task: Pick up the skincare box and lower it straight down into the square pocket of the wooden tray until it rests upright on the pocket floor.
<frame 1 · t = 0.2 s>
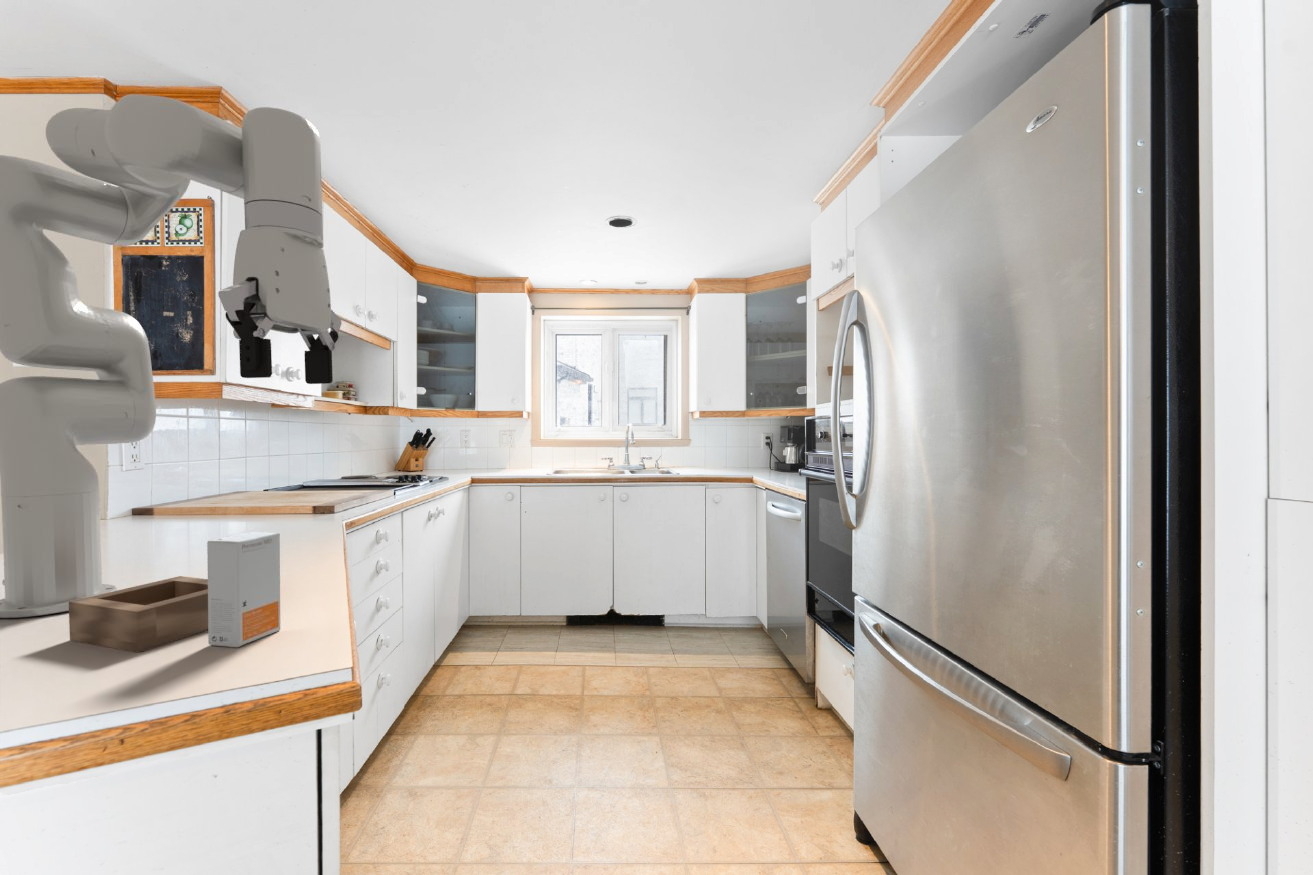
hand: (289, 380, 68), 30 cm above the counter, tool pointing down, fingers open, 9 cm apart
wooden tray: (161, 628, 73), on the counter
skincare box: (246, 639, 70), on the counter
onion: (240, 600, 85), on the counter
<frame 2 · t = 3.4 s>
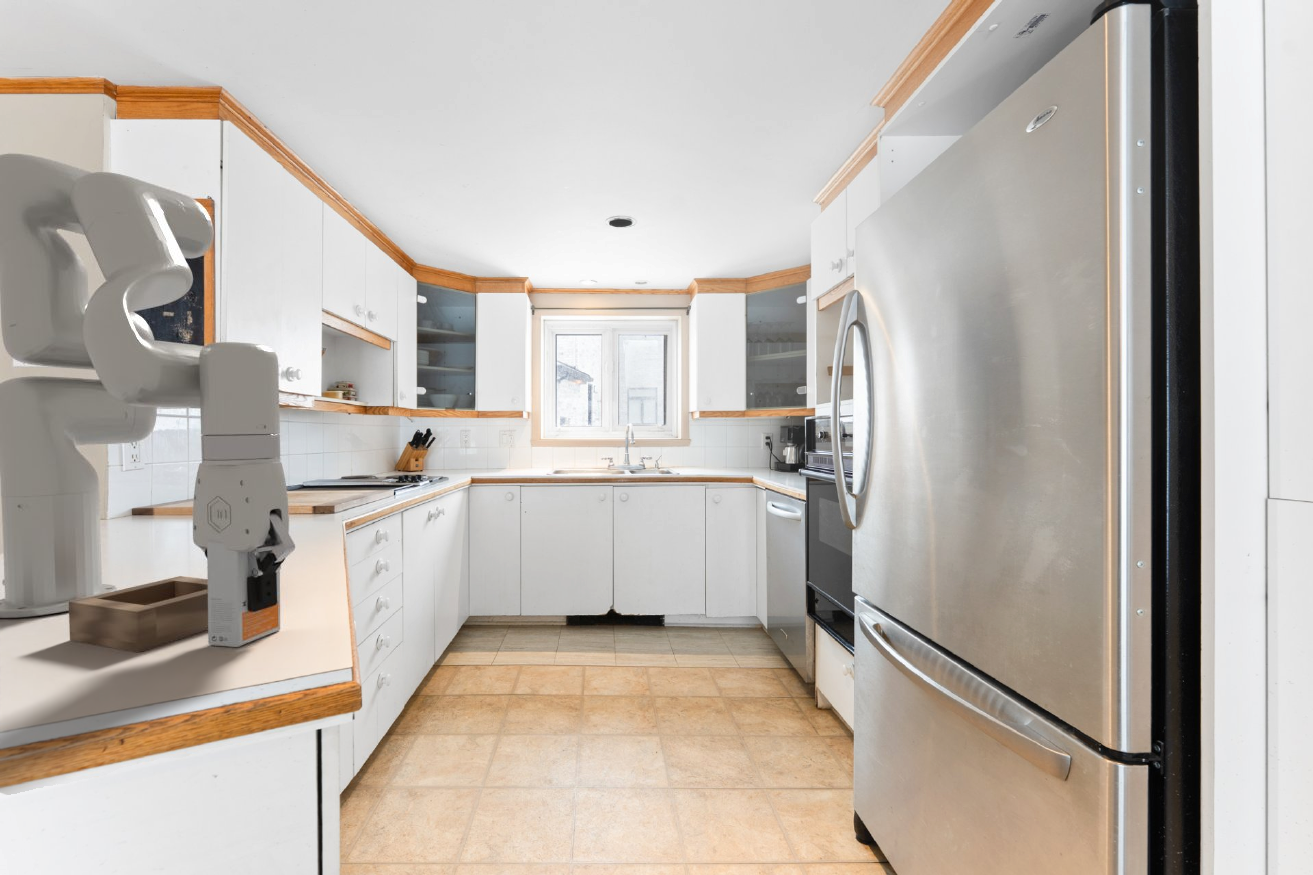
hand: (245, 604, 70), 4 cm above the counter, tool pointing down, fingers closed on skincare box, 4 cm apart
skincare box: (246, 639, 70), on the counter, touching gripper
everything else where it was.
when the fingers open (6 cm above the counter, at t = 8.8 s): skincare box drops 1 cm, resting on wooden tray.
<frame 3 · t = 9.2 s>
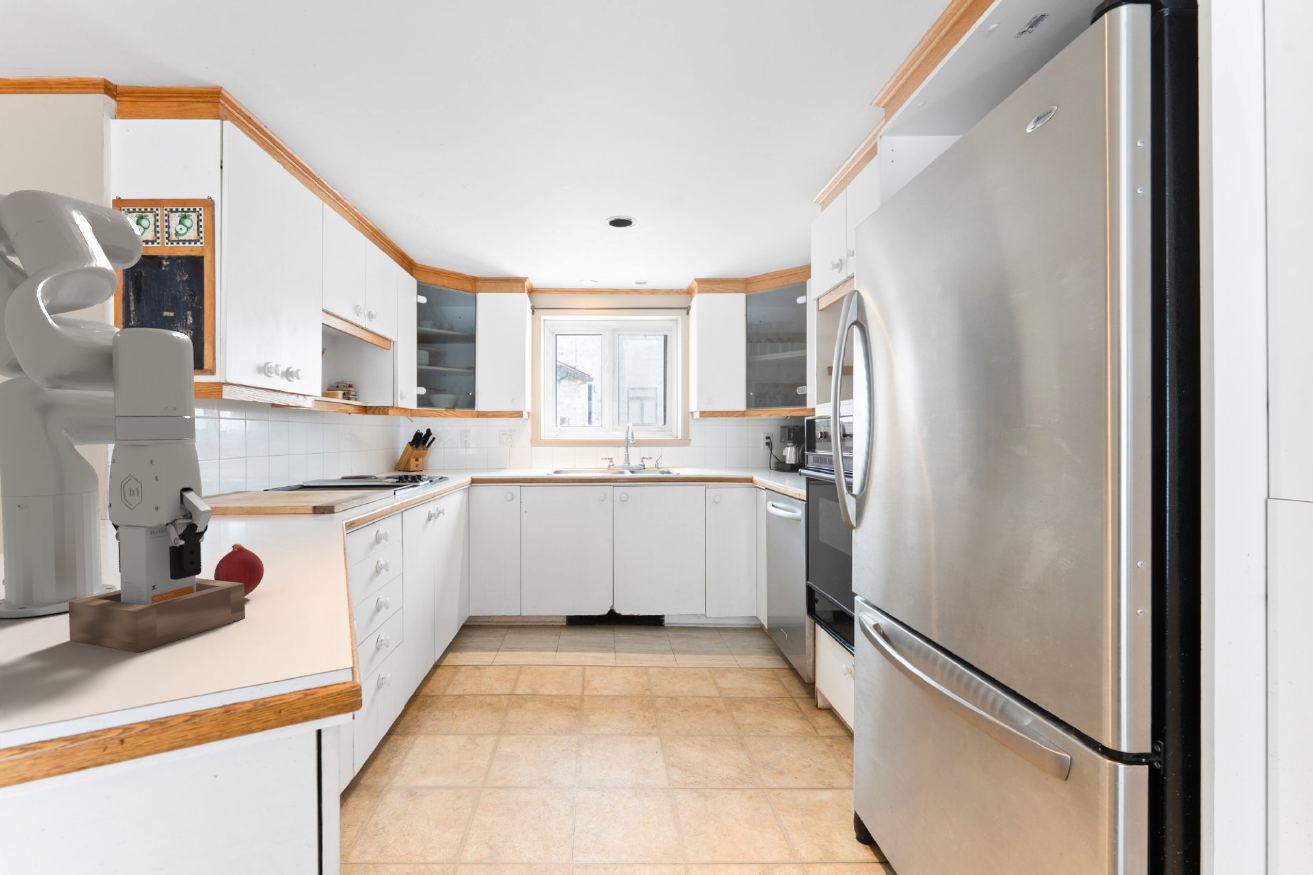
hand: (160, 573, 73), 7 cm above the counter, tool pointing down, fingers open, 8 cm apart
skincare box: (161, 621, 73), point 1 cm above the counter, touching wooden tray
everything else where it was.
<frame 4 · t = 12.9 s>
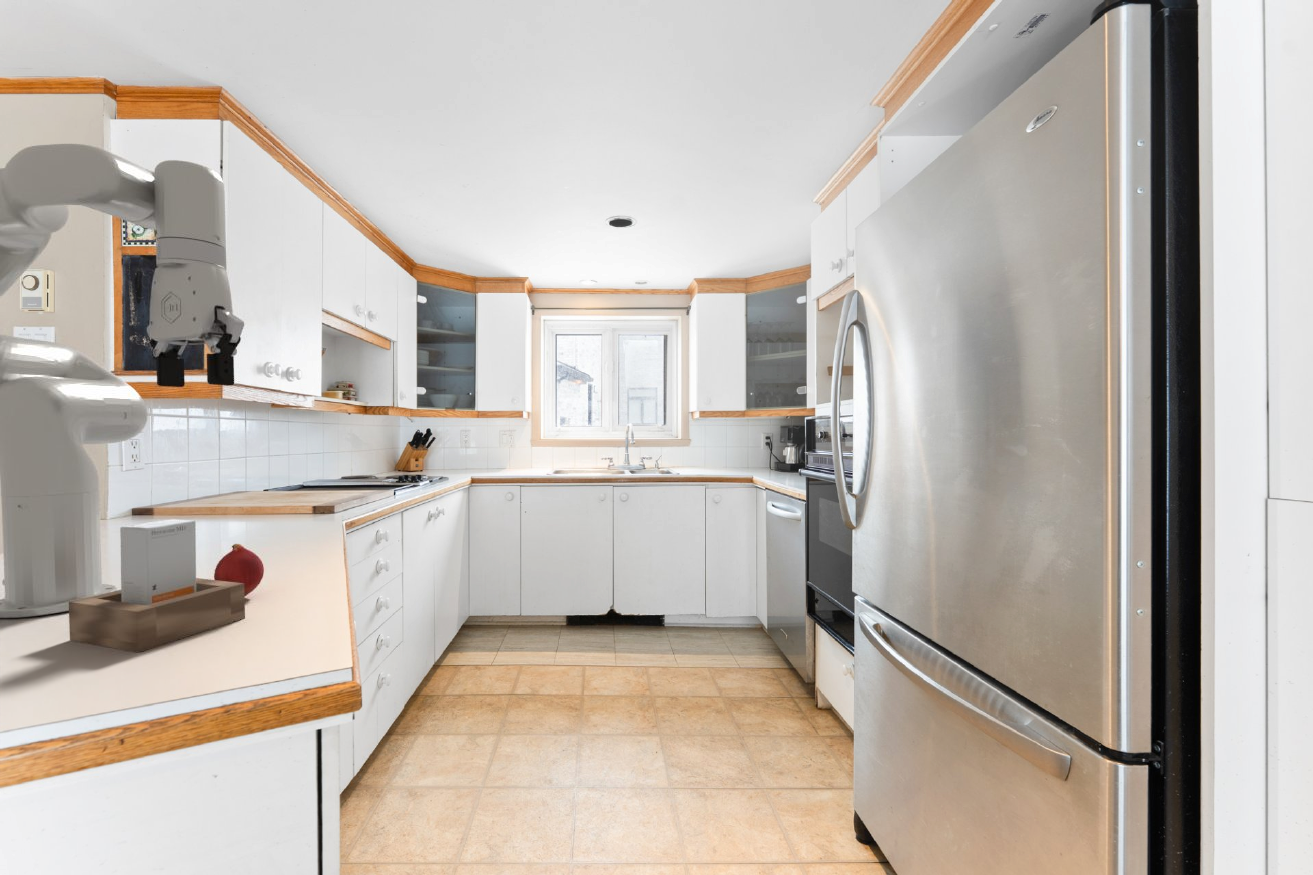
hand: (195, 385, 81), 30 cm above the counter, tool pointing down, fingers open, 9 cm apart
nothing on the counter moved.
at the end: skincare box 0.1 cm off-centre on the wooden tray, point 0.8 cm above the wooden tray's base; skincare box tilted 0°; the gripper is holding nothing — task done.
